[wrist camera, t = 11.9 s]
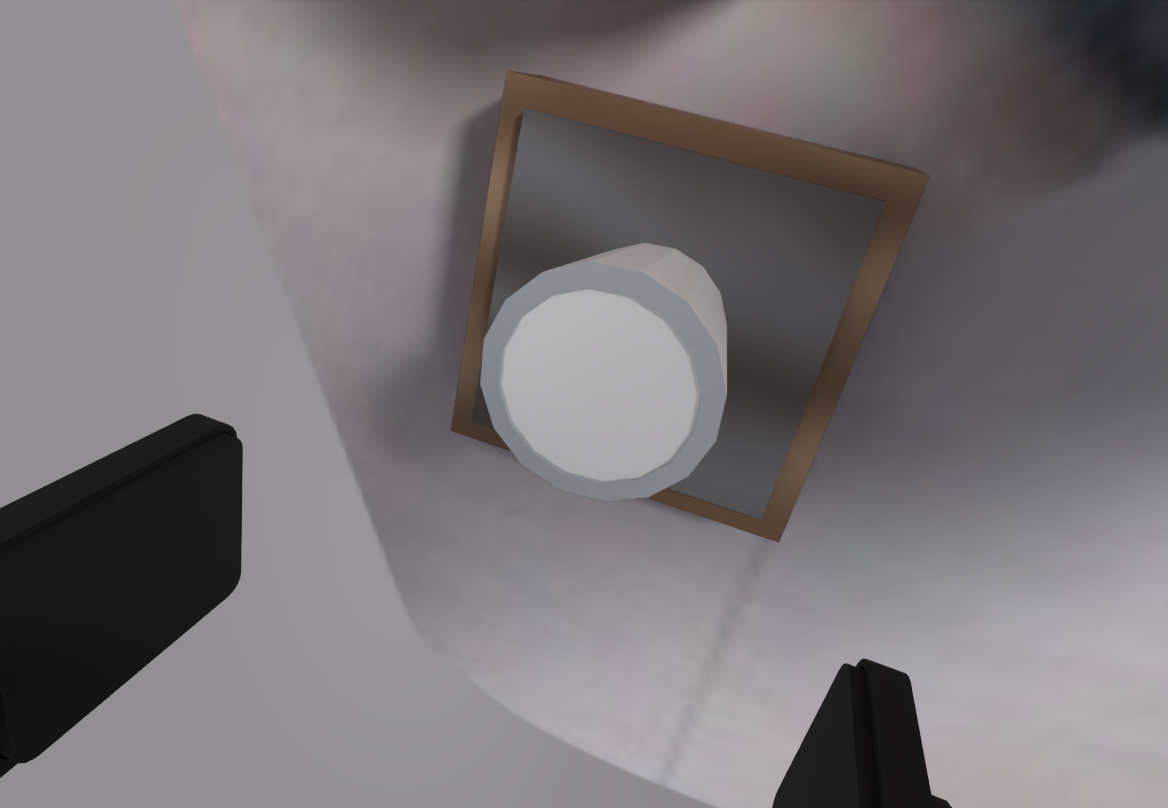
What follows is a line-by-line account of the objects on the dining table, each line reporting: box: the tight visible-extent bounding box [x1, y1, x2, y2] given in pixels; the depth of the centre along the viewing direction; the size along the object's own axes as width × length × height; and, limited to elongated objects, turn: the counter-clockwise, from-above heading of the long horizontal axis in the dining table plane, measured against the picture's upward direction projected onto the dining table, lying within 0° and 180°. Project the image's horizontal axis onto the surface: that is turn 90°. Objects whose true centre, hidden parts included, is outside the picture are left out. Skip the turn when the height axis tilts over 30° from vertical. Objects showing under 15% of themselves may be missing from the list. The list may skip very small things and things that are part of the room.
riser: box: [451, 71, 930, 543], centre depth 27 cm, size 14×14×4 cm
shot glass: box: [480, 243, 727, 502], centre depth 22 cm, size 7×7×7 cm
